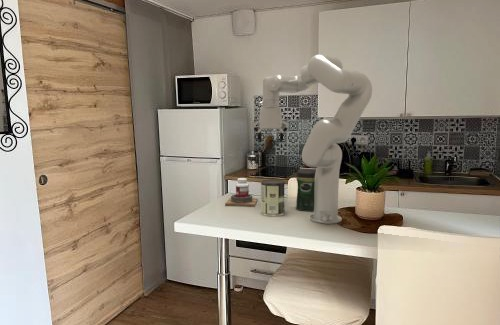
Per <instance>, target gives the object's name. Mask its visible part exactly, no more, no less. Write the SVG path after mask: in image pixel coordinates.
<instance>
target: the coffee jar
mask: <svg viewBox="0 0 500 325" xmlns="http://www.w3.org/2000/svg"><path fill="white" fill-rule="evenodd" d="M315 173H316V169H313V168H299V169H297V171H296V175H295V176H296V178H295V179H296V181H297V191H296V192H297V195H296V201H295V202H296V203H295V208H296V210H298V211H301V212H302V211H305V212H314V185H315Z"/></svg>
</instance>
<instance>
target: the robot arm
mask: <svg viewBox="0 0 500 325" xmlns="http://www.w3.org/2000/svg"><path fill="white" fill-rule="evenodd" d="M317 84H321V85H322V86H324V87H325V88H326V89H328V90H329V91H330V92H332V93H335V94H342V95H348V96H347V98H345V100H343V102H342V103H341V104H340V106H339V107H338V109H337V111H336V113H335V115H334V116H333V117H329V118H328V117H326V118H325V117H324V118H322V119H320V120H319V121H317V122H316V123H315V124H314V125H313V127H312V129H311V132H310V134H309V136H308V138H307V140H306V141H305V144H304V145H303V149H302V151H301V159H302V162H303V164H304V165H305V166H306V167H308V168H316V169H315V170H316V173H315V185H314V211H313V213H312V214H311V215H309V220H310V221H312V222H314V223H318V224H325V225H326V224H329V225H330V224H331V225H332V224H338V223H340V222H342V220H343V218H342V217H341V216H340V215H339V213H338V212H339V185H340V184H339V183H340V182H339V181H340V169H341V164H342V160H343V151H342V149H341V147H340V145H339V144H342V143H345V142H347V141H348V140H349V138H350V136H351V135H352V134H353V131H354V129H355V128H356V126H357V125H358V123H359V120H360V119H361V117H362V114H364V111H365V109H366V108H367V106H368V105H369V103H370V101H371V99H372V94H373V85H372V82H371V80H370V78H369V76H367V75H366V74H365V73H363V72H360V71H357V70H350V69H346V68H345V69H344V68H343V63H342V61H341V60H340V59H339V58H338V57H336V56H333V55H328V54H322V53H320V54H315V55H313V56H312V57H311V58H310V59H309V61H308V63H307V64H305V65H303V66H302V67H301V69H300V74H297V75H288V74H287V75H286V74H275V75H271V76H265V77H263V79H262V101H259V106H262V107H260V112H259V119H258V120H256V121H255V122H254V121H253V122H252V123H251V126H252V127H253V130H255V132H256V133H257V140H258V141H259V143H261V142H262V131H263V130H279V131H280V134H279V142H280V143H282V142H283V141H284V133H286V131H288V128H290V123H289V122H286V121H285V120H283V119H282V118H283V116H282V108H281V107H280V93H289V94H295V93H300V92H302V91H303V92H304V91H306V90H308V89H309V88H311V87H312V86H313V85H317ZM258 124H259V128H258V127H257V126H256V125H258ZM283 125H285V126H284V128H282V126H283Z"/></svg>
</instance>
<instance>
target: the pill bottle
mask: <svg viewBox="0 0 500 325" xmlns="http://www.w3.org/2000/svg"><path fill="white" fill-rule="evenodd" d="M249 185H250V184H249V183H248V178H245V177H240V178H239V177H238V178H237V183H235V194H236V197H237V198H245V197H249V195H250V193H249V191H250V190H249V189H250V188H249V187H250V186H249Z"/></svg>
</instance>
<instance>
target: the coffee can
mask: <svg viewBox="0 0 500 325" xmlns="http://www.w3.org/2000/svg"><path fill="white" fill-rule="evenodd" d="M285 184H286V181H284V180H280V179H263V180H260V188H261V189H260V190H261V191H260V193H261V194H260V195H261V196H260V199H261V200H260V206H261V207H260V209H261V210H260V214H261V215H263V216H267V217H280V216H283V215H285Z"/></svg>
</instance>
